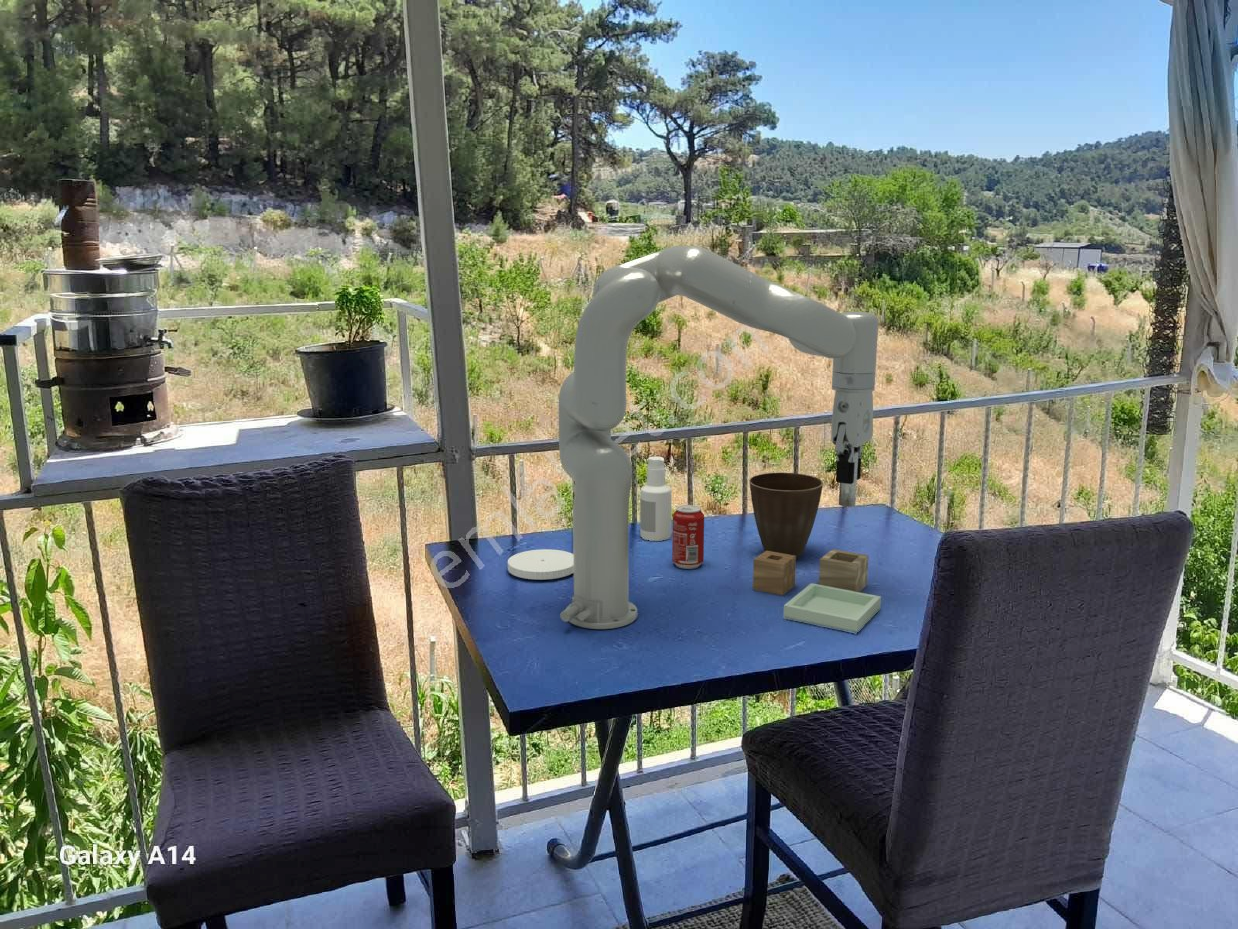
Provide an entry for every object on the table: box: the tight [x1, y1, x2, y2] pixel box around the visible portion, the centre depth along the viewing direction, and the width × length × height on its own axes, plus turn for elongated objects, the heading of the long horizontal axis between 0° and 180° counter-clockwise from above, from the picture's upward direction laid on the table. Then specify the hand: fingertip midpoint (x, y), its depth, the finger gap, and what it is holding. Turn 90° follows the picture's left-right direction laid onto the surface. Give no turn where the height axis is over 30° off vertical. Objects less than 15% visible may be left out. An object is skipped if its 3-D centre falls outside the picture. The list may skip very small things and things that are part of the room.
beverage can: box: [671, 504, 705, 570], centre depth 191 cm, size 6×6×12 cm
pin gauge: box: [838, 450, 858, 508], centre depth 174 cm, size 3×3×10 cm
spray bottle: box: [639, 456, 672, 542], centre depth 208 cm, size 7×7×18 cm
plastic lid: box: [507, 548, 574, 581], centre depth 189 cm, size 14×14×2 cm
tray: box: [782, 582, 882, 633], centre depth 166 cm, size 13×13×2 cm
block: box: [752, 551, 797, 596], centre depth 178 cm, size 6×6×6 cm
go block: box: [818, 548, 869, 593], centre depth 179 cm, size 7×7×6 cm
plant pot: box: [748, 472, 824, 560], centre depth 196 cm, size 15×15×16 cm
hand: (848, 479), depth 174 cm, fingers closed on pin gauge, 3 cm apart
